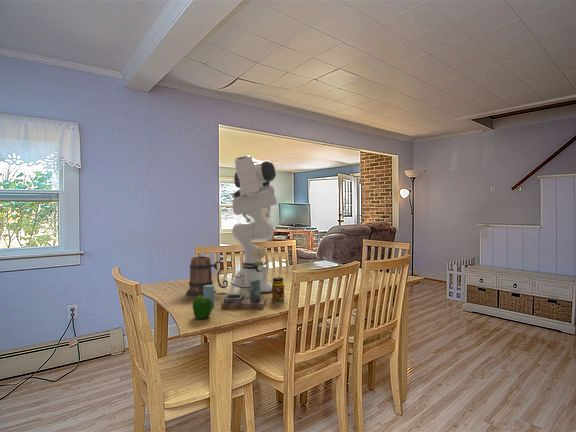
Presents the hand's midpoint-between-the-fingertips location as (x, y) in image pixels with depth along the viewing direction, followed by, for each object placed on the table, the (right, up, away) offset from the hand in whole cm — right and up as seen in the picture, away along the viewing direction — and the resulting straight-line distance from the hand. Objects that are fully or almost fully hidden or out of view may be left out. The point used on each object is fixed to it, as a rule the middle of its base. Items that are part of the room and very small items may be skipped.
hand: (258, 219), depth 151 cm
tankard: (-33, -42, +37) cm, 65 cm away
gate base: (-8, -42, +11) cm, 44 cm away
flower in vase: (-1, -42, +40) cm, 58 cm away
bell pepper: (-24, -43, -7) cm, 49 cm away
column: (-25, -42, +9) cm, 50 cm away
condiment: (+8, -42, +19) cm, 47 cm away
